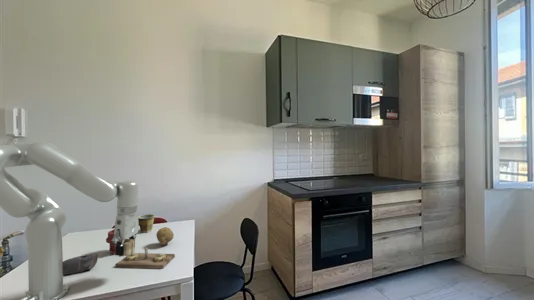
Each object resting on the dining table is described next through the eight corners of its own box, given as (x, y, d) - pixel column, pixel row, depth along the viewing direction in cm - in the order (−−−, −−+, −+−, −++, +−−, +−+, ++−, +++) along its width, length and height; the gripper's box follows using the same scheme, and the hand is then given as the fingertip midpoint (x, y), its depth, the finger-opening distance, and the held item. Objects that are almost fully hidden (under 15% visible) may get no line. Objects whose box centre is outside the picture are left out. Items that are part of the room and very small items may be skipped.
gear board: (163, 268, 111) (163, 253, 111) (115, 267, 113) (115, 252, 113) (174, 256, 123) (174, 243, 123) (131, 255, 125) (131, 242, 125)
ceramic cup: (157, 230, 164) (157, 215, 164) (143, 234, 155) (143, 219, 155) (146, 227, 170) (146, 213, 170) (132, 231, 162) (132, 216, 162)
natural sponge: (171, 240, 145) (171, 224, 145) (175, 245, 138) (175, 228, 138) (155, 243, 141) (155, 226, 140) (157, 249, 133) (157, 231, 133)
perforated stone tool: (53, 278, 103) (53, 262, 103) (58, 273, 108) (58, 257, 108) (95, 271, 110) (95, 255, 110) (98, 266, 114) (98, 251, 114)
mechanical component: (132, 248, 134) (117, 257, 124) (116, 247, 136) (101, 255, 126) (132, 226, 133) (117, 233, 124) (116, 225, 135) (101, 231, 126)
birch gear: (128, 257, 100) (128, 244, 100) (112, 256, 100) (112, 244, 101) (137, 250, 107) (138, 239, 107) (123, 249, 107) (123, 238, 107)
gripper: (122, 215, 95) (120, 261, 95) (146, 206, 112) (145, 244, 112) (103, 214, 95) (102, 260, 95) (131, 205, 113) (129, 243, 113)
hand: (125, 251), depth 104 cm, fingers closed on birch gear, 6 cm apart
